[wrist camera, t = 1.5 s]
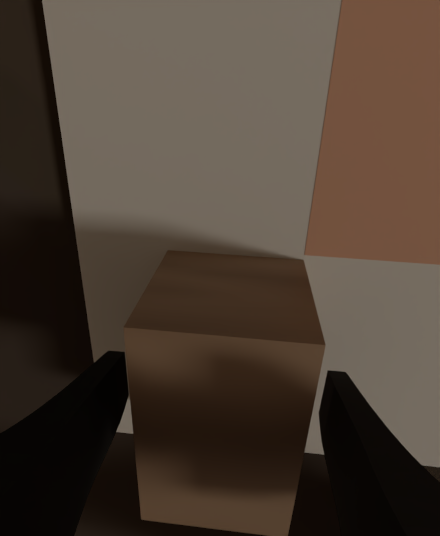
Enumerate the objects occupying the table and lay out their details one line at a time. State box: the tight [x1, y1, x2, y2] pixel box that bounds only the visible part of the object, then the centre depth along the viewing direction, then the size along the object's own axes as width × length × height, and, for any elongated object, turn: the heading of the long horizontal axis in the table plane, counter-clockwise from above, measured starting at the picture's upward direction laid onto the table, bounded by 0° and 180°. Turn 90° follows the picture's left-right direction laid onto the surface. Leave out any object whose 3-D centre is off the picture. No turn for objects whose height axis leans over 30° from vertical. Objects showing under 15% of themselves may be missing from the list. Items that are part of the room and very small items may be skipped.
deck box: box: [123, 250, 326, 536], centre depth 13 cm, size 8×5×5 cm, turn 178°
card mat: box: [42, 0, 440, 467], centre depth 14 cm, size 20×19×1 cm
